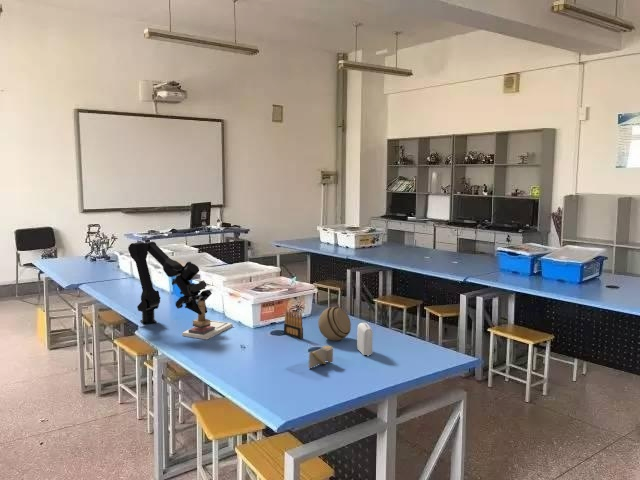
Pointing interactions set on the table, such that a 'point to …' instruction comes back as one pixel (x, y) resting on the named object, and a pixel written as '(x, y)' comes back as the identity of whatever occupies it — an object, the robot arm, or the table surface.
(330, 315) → the brown grooved ball
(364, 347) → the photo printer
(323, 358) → the model
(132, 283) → the table surface
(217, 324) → the stamping board
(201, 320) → the stamp
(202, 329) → the ink pad
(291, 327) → the ammunition clip
